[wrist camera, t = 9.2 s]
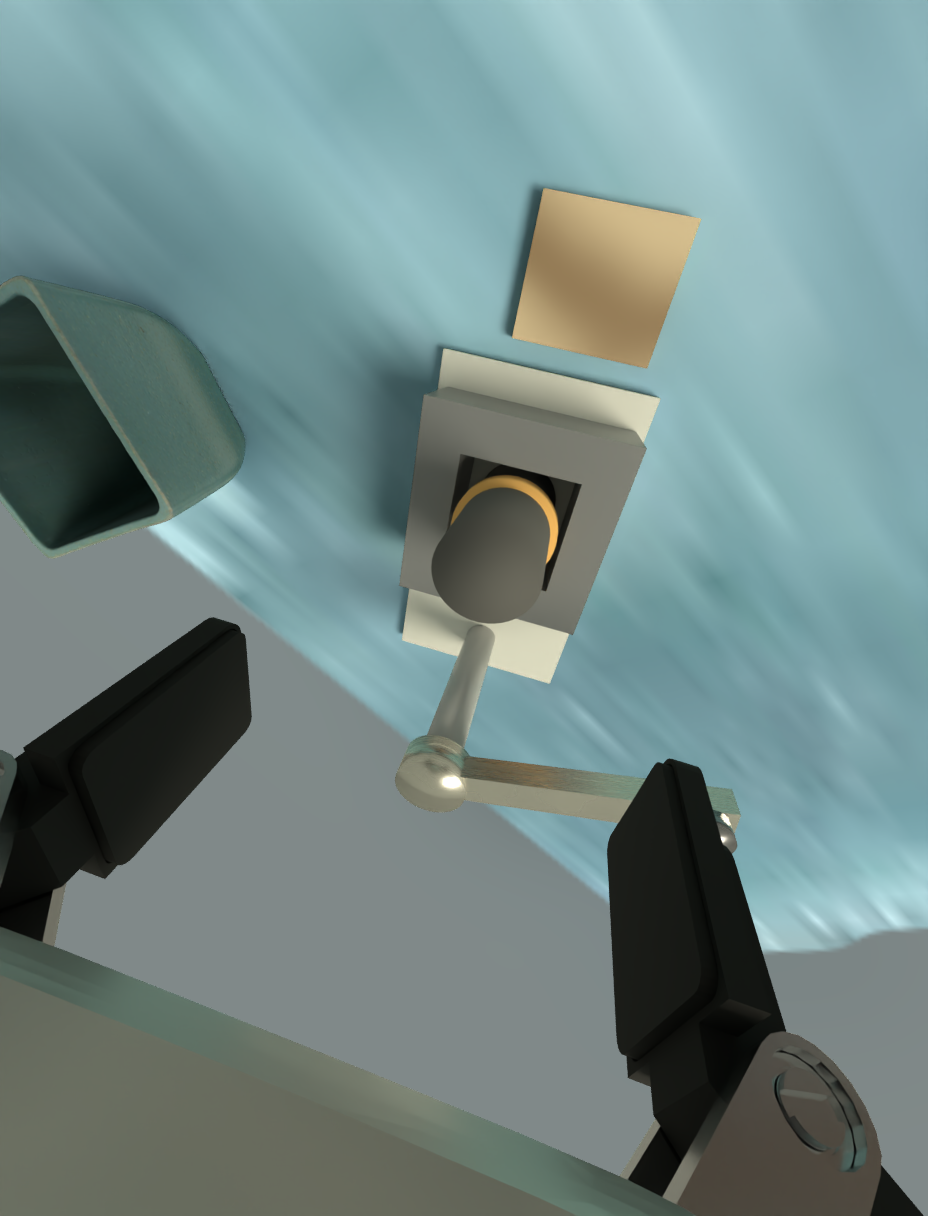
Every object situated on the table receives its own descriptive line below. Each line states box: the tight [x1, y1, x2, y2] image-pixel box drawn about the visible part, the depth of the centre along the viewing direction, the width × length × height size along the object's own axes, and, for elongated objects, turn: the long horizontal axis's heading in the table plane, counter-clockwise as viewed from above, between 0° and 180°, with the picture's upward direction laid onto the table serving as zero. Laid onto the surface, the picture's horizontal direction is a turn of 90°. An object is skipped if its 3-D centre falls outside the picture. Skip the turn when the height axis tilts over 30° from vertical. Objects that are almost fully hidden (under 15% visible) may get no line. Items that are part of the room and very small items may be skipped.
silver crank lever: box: [395, 735, 741, 853], centre depth 18 cm, size 13×3×2 cm, turn 94°
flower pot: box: [0, 276, 245, 558], centre depth 22 cm, size 9×9×9 cm
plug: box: [431, 464, 558, 624], centre depth 20 cm, size 5×5×9 cm
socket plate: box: [399, 348, 660, 748], centre depth 21 cm, size 17×10×10 cm, turn 169°
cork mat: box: [512, 188, 701, 368], centre depth 19 cm, size 5×6×1 cm
